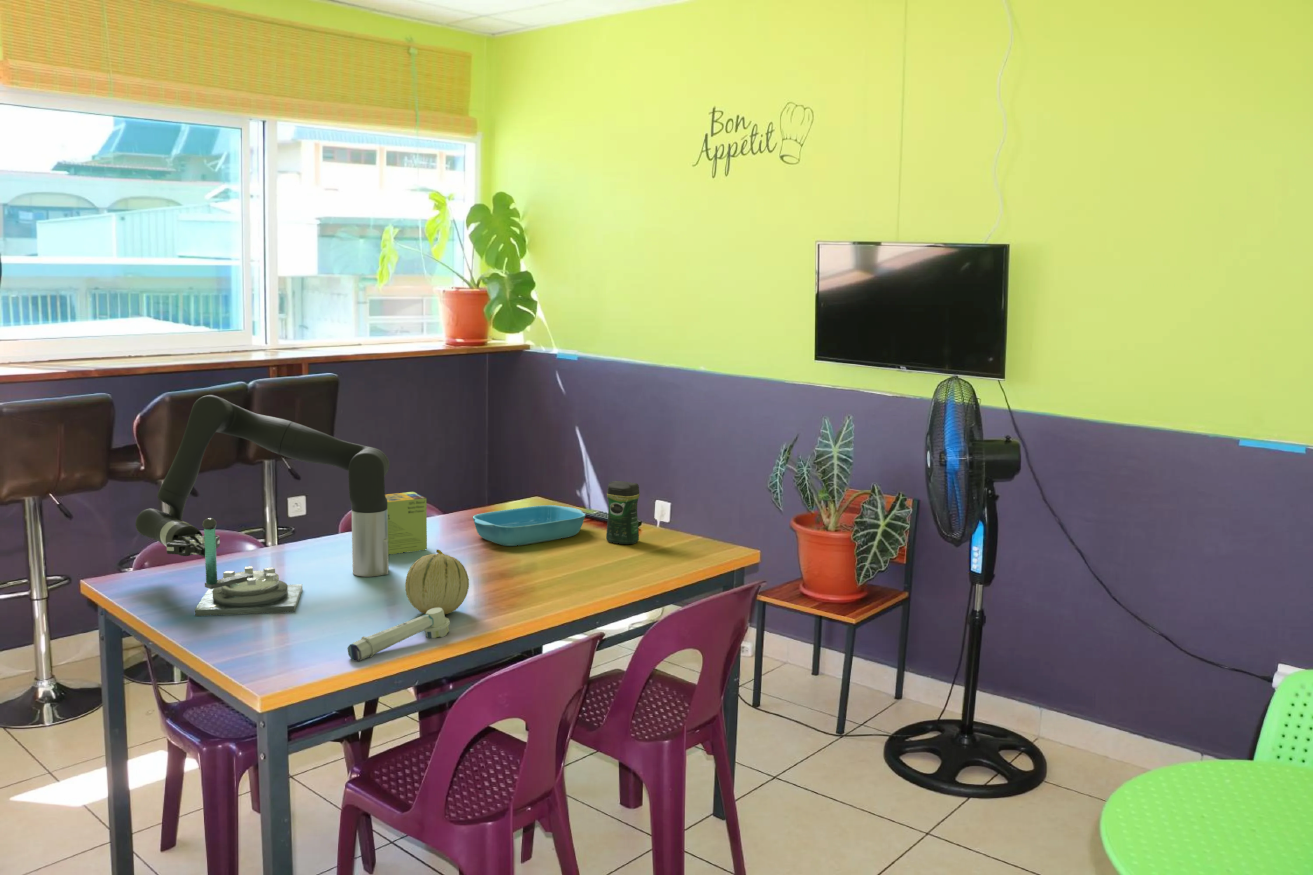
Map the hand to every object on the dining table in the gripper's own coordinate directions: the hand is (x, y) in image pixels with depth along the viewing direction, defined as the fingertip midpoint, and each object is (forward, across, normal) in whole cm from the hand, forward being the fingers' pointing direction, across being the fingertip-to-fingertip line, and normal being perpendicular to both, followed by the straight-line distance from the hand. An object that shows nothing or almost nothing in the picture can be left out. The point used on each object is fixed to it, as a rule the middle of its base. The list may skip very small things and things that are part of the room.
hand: (207, 552), depth 253 cm
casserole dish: (-14, +102, +14) cm, 104 cm away
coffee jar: (+9, +120, +14) cm, 122 cm away
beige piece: (+49, +23, +14) cm, 56 cm away
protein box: (-24, +62, +14) cm, 68 cm away
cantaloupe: (+35, +40, +14) cm, 55 cm away
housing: (0, +10, +14) cm, 17 cm away
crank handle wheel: (+1, +7, +10) cm, 13 cm away
